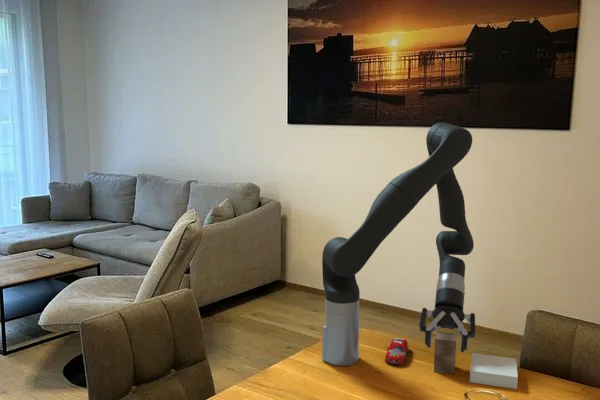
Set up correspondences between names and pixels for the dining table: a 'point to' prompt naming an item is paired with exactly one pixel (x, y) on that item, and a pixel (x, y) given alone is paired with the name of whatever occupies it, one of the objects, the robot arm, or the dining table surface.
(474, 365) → the riser
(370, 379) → the dining table surface
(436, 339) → the walnut block
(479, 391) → the dining table surface
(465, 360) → the dining table surface
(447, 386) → the dining table surface
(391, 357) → the race car
